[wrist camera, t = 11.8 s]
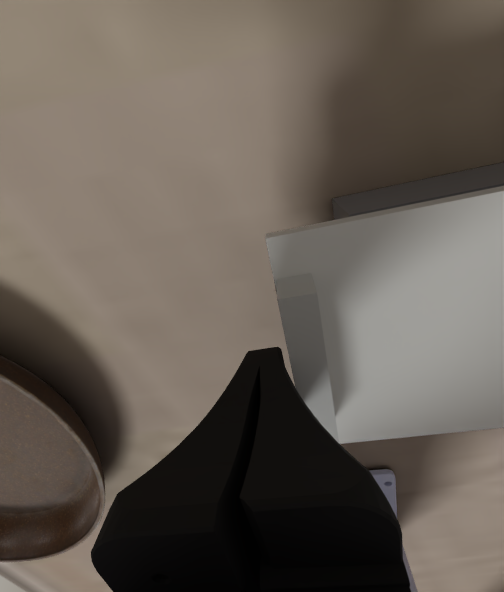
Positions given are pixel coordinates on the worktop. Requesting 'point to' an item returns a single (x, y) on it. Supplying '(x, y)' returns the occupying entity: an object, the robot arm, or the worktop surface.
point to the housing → (419, 191)
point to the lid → (397, 317)
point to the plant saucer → (44, 470)
